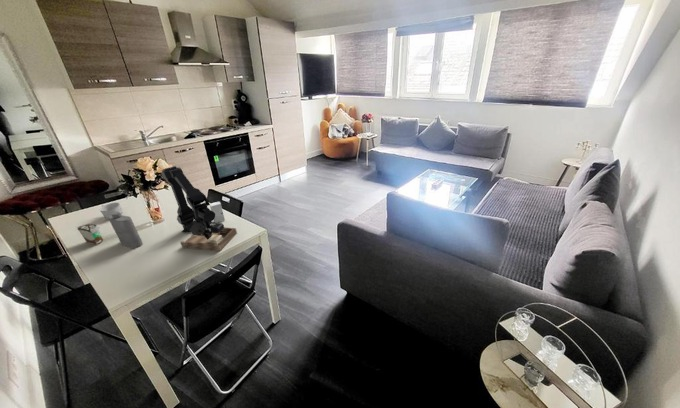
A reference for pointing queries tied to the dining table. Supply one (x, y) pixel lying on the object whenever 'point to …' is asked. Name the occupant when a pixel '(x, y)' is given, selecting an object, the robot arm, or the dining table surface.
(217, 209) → the skincare box
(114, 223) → the flask
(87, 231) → the food container
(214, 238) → the birch block
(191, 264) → the dining table surface
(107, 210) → the teacup
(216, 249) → the box
